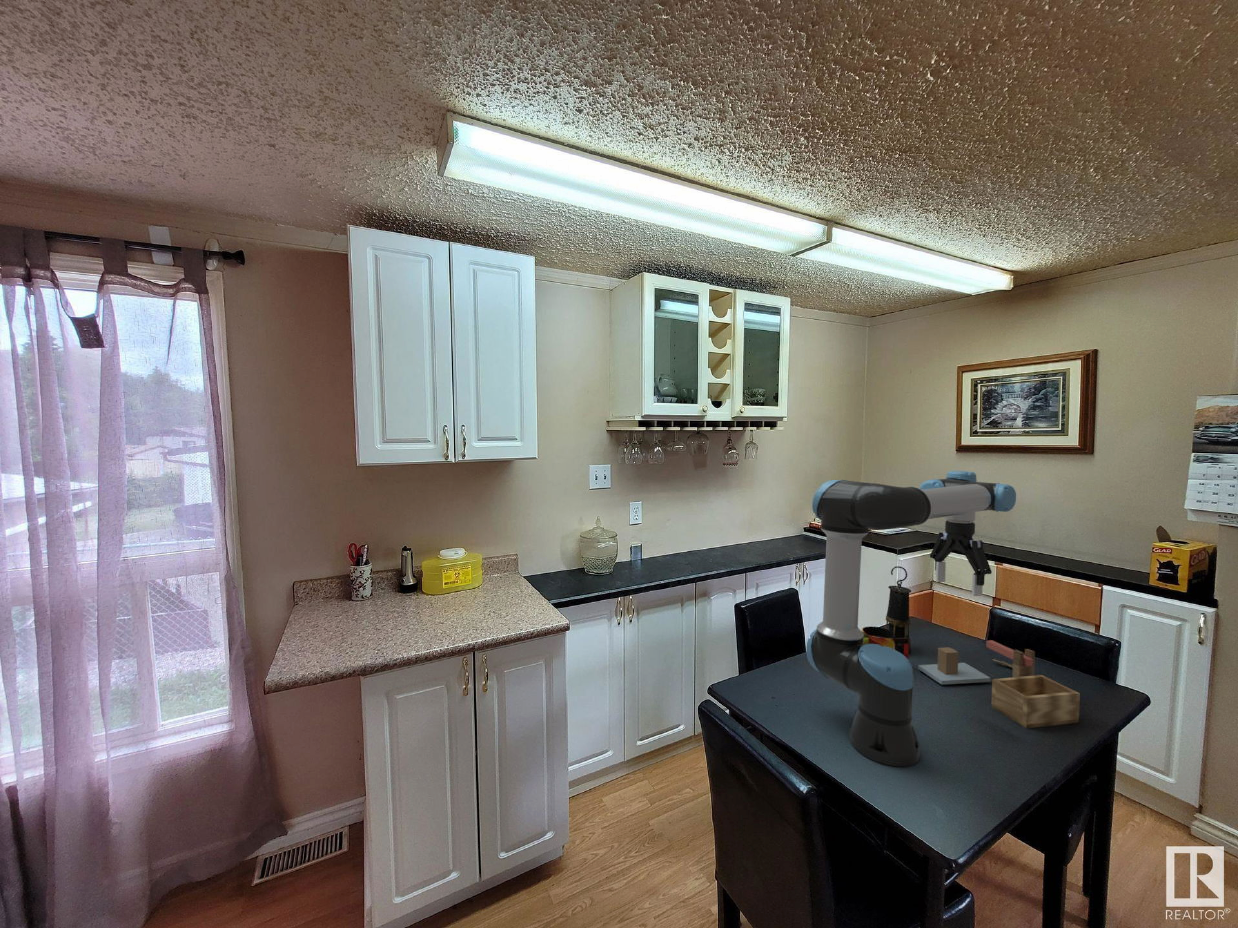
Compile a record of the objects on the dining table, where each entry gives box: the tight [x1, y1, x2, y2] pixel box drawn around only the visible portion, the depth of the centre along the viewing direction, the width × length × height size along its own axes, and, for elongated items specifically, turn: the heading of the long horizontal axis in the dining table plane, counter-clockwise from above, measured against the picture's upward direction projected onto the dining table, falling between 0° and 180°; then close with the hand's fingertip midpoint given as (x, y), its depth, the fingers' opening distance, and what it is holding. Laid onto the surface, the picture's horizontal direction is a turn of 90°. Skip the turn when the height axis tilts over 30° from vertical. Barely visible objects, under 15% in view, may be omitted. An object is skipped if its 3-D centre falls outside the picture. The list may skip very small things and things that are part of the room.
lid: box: [917, 646, 992, 685], centre depth 151 cm, size 16×10×9 cm, turn 95°
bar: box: [985, 639, 1033, 666], centre depth 145 cm, size 2×13×2 cm, turn 8°
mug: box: [861, 626, 910, 660], centre depth 159 cm, size 10×14×12 cm
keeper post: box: [1011, 648, 1036, 678], centre depth 141 cm, size 5×2×13 cm, turn 98°
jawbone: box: [992, 658, 1035, 676], centre depth 150 cm, size 9×20×2 cm, turn 174°
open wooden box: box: [990, 674, 1081, 729], centre depth 131 cm, size 16×10×8 cm, turn 98°
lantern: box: [885, 565, 912, 655], centre depth 171 cm, size 9×9×30 cm
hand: (957, 588), depth 150 cm, fingers open, 13 cm apart
